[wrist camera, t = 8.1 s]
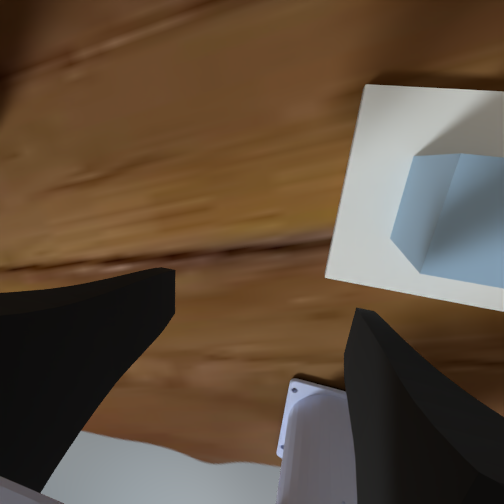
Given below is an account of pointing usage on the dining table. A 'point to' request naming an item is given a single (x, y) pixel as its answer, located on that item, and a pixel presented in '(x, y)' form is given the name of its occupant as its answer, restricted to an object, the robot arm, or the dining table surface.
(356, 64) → the dining table surface
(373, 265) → the plate
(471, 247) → the blue block
